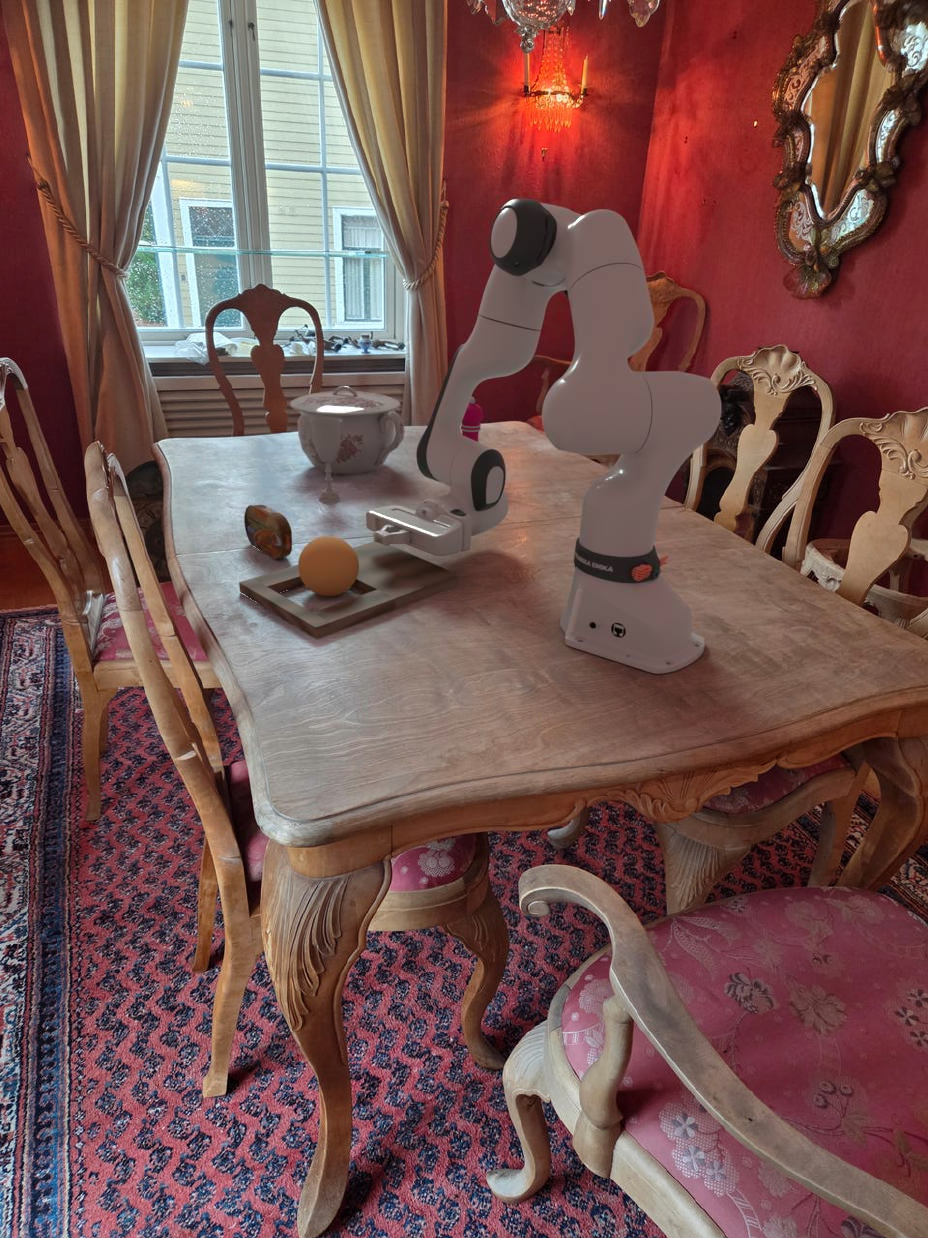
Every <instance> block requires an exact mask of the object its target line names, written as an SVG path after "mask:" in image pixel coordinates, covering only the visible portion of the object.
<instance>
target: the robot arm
mask: <svg viewBox="0 0 928 1238" xmlns="http://www.w3.org/2000/svg"><path fill="white" fill-rule="evenodd" d="M638 248H639V247H638V246H637V242H636V240H635V238H634V236H633V234H632V231H631V229H630V227H629V225H628V223H627V221H626V219H625V218H624V217H623V216H622V215H621V214H619V213H618V212H616V211H613V210H611V209H606V208H605V209H603V208H602V209H601V208H600V209H595V210H591V211H589V212H586V213H584V214H580V213H579V212H576V211H572V210H571V209H569V208H567V207H564V206H560V205H559V206H558V205H555V204H549V203H544V202H539V201H538V200H536V199H533V198H532V199H530V198H516V199H515V198H514V199H511V200H509V201H507V202H506V203H505V204H504V205H503V206H502V207H501V208H500V209H499V211H498V212H497V214H496V216H495V217H494V220H493V222H492V225H491V228H490V233H489V250H490V255H491V259H492V262H494V265H493V267H492V270H491V271H490V272H491V273H490V275H489V277H488V280H487V283H486V285H485V288H484V291H483V295H482V298H481V300H480V301H481V302H480V306H479V309H478V310H479V311H478V315H477V319H476V322H475V324H474V327H473V330H472V332H471V334H470V335H469V337H468V339H467V340H466V342H465V343H463V344H461V345H460V346H459V347H458V348H457V350H456V351H455V352H454V355H453V356H452V359H451V361H450V364H449V367H448V368H447V371H446V374H445V377H444V379H443V381H442V385H441V389H440V391H439V394H438V397H437V398H436V399H437V400H436V403H435V404H434V405H435V406H434V409H433V412H432V414H431V417H430V420H429V422H428V425H427V426H426V429H425V430H424V432H423V434H422V436H421V438H420V440H419V441H418V445H417V447H416V463H417V467H418V470H419V472H420V473H421V475H423V476H424V477H426V478H428V479H430V480H433V481H435V482H439V483H442V484H444V485H446V486H447V487H450V490H449V492H448V493H446V494H444V495H440V496H435V497H433V498H428V499H425V500H423V501H421V502H420V503H419V504H418V505H417V507H416V509H412V508H410V507H407V506H404V505H399V504H391V505H384V506H378V507H374V508H369V509H368V510H367V511H366V513H365V521H366V522H365V523H366V528H367V529H368V530H369V531H371V532H374V533H373V542H374V541H375V542H378V543H381V544H383V545H385V546H387V545H407V546H408V547H409V546H410V547H412V548H414V549H417V550H420V551H422V552H424V553H427V554H431V555H433V556H436V557H447V556H450V555H454V554H457V553H459V552H467V551H469V550H470V549H471V544H472V537H473V536H477V535H480V534H482V533H485V532H488V531H489V530H492V529H494V528H496V526H498V525H499V524H500V523H501V522H503V520H504V519H505V518H506V516H507V515H508V512H509V507H510V506H509V505H510V504H509V499H508V495H507V494H506V491H505V485H506V475H507V473H506V470H507V469H506V463H505V459H504V457H503V455H502V454H501V452H500V451H499V450H497V449H494V448H493V447H490V446H489V445H487V444H485V443H483V442H477V441H474V440H472V439H470V438H468V437H465V436H463V435H462V430H461V429H460V428H461V423H462V420H463V417H464V414H465V412H466V409H467V406H468V404H469V401H470V398H471V397H473V396H472V395H473V393H474V391H475V390H476V388H477V386H478V385H479V384H481V383H482V382H484V381H486V380H489V379H495V378H502V377H508V376H511V375H515V373H518V372H520V371H521V370H523V369H524V368H525V367H527V366H528V365H529V364H530V362H531V361H532V359H533V358H534V356H535V354H536V350H537V347H538V344H539V340H540V336H541V330H542V328H543V323H544V319H545V315H546V309H547V306H548V304H549V301H550V299H551V298H552V297H553V296H554V295H555V294H557V293H559V292H561V291H563V294H564V295H565V296H566V298H568V301H569V306H570V312H571V319H572V325H573V326H572V327H573V333H574V353H573V357H572V360H571V362H570V365H569V366H568V368H567V370H566V371H565V373H564V374H563V375H562V376H561V377H560V378H559V379H557V380H556V381H554V383H553V384H552V386H551V387H550V388H549V389H548V391H547V393H546V395H545V398H544V401H543V403H542V408H541V421H542V422H541V423H542V428H543V430H544V433H545V435H546V437H547V439H548V440H549V442H550V443H551V445H552V446H553V447H554V448H555V449H557V450H558V451H562V452H566V453H567V452H568V453H572V454H579V455H584V456H585V455H586V456H601V455H603V456H604V455H605V456H606V455H620V456H619V458H618V459H617V461H616V462H615V464H614V465H612V467H611V468H610V469H609V470H608V471H607V472H606V473H604V474H602V475H601V476H599V477H597V478H596V479H594V480H593V481H592V482H591V483H590V484H589V485H588V487H587V489H586V490H585V492H584V495H583V499H582V509H581V516H580V525H579V527H580V528H579V537H577V539H576V540H575V547H574V555H573V565H574V573H573V579H572V583H571V588H570V591H569V596H568V599H567V603H566V605H565V607H564V610H563V613H562V615H561V617H560V619H559V625H560V628H561V629H562V632H563V633H564V634H565V637H564V643H565V645H566V646H568V647H571V648H574V649H577V650H581V651H583V652H587V653H589V654H592V655H596V656H598V657H602V658H605V659H607V660H611V661H614V662H617V663H620V664H623V665H626V666H629V667H632V668H636V669H639V670H642V671H645V672H647V673H652V674H658V675H659V674H666V673H672V672H676V671H678V670H681V669H683V668H686V667H687V666H689V665H690V664H692V663H694V662H695V661H696V660H698V659H699V658H700V657H701V656H702V654H703V653H704V651H705V646H706V645H705V643H706V642H705V641H706V640H705V638H704V637H703V636H700V635H698V634H697V633H695V632H693V630H692V629H693V618H692V617H693V616H692V610H691V608H690V606H689V605H688V604H687V602H686V601H685V600H684V599H683V598H682V596H680V595H679V594H678V593H677V591H676V590H675V589H674V588H673V587H672V585H671V584H670V583H669V582H668V581H667V580H666V578H665V577H664V576H663V575H662V574H661V573H662V569H661V567H662V566H664V565H666V564H667V563H668V561H667V559H669V556H668V555H666V556H664V557H662V558H659V557H658V552H657V549H656V546H655V545H654V543H655V540H656V539H655V536H656V534H657V533H656V532H657V528H658V527H657V526H658V522H659V521H658V520H659V516H660V512H661V507H662V504H663V500H664V497H665V494H666V492H667V489H668V487H669V485H670V483H671V481H672V480H673V479H674V476H675V475H676V473H677V472H678V470H680V468H681V466H682V465H683V464H684V463H685V461H686V460H688V458H689V457H690V456H691V455H692V454H693V453H694V452H695V451H696V450H698V448H700V447H701V446H703V445H704V444H705V443H707V442H708V441H709V440H710V439H711V438H712V437H713V436H714V434H715V432H716V431H717V428H718V426H719V424H720V421H721V416H722V400H721V396H720V394H719V391H718V388H717V387H716V385H715V384H714V382H713V381H712V380H711V379H710V378H709V377H706V376H702V375H698V374H693V373H690V372H685V371H684V372H683V371H679V370H666V371H665V370H663V371H662V370H661V371H660V370H659V371H657V370H656V371H636V370H632V368H631V367H630V365H629V361H628V358H630V357H632V356H634V355H635V354H636V353H637V352H639V351H640V350H641V349H643V348H644V346H645V345H646V344H647V343H648V341H649V340H650V338H651V336H652V334H653V331H654V328H655V320H656V319H655V316H654V315H655V313H654V310H653V305H652V304H653V303H652V301H651V296H650V292H649V286H648V281H647V277H646V273H645V269H644V264H643V261H642V257H641V254H640V251H639V249H638Z"/></svg>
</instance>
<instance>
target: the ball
mask: <svg viewBox="0 0 928 1238" xmlns="http://www.w3.org/2000/svg"><path fill="white" fill-rule="evenodd" d="M353 548H354V547H352V545H351V544H350V543H349V542H347V541H346V540H344V539H342V538H341V537H337V536H334V535H333V536H332V535H325V536H320V537H316V538H314V539H312V540H311V541H310V542H308V543H307V544H306V545H305V546H304V547H303V549H302V550H301V551H300V555H299V557H298V561H297V565H298V571H299V575H300V578H301V580H302V581H303V583H304V584H305V586H304V587H306V588H307V589H309V590H310V591H311V592H313V593H314V594H316V595H319V596H323V597H334V596H338V595H341V594H344V593H345V592H347V591H348V590H349V589H351V588H352V587H351V586H352V585H353V584H354V582H355V580H356V578H357V576H358V572H359V561H358V557H357V555H356V552H355V551H354V549H353Z"/></svg>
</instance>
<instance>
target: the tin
mask: <svg viewBox="0 0 928 1238" xmlns="http://www.w3.org/2000/svg"><path fill="white" fill-rule="evenodd" d="M243 517H244V520H243V521H244V522H243V523H244V529H245V533H246V536H247V539H248V541H249V543H250V545H251V546H252V545H253V546H255V547H256V548H258V549H259V550H260V551H259V550H258V551H259V552H261V551H262V552H263V553H262V552H261V553H262V554H264V553H265V554H266V556H267V555H268V556H269V557H268V556H267V557H268V558H270V559H272V560H278V559H283V558H286V557H288V556H290V555H291V554H292V551H293V536H292V534H293V533H292V532H293V531H292V527H291V525H290V523H289V521H288V519H287V517H285V515H283V514H282V513H280V512H277V511H276V510H275V509H273V508H271V507H268V506H266V505H265V504H255V505H251V504H250V505H248V506H247V507H246V508H245V511H244V516H243ZM253 546H252V547H253ZM256 548H255V549H256ZM265 554H264V555H265Z"/></svg>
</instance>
